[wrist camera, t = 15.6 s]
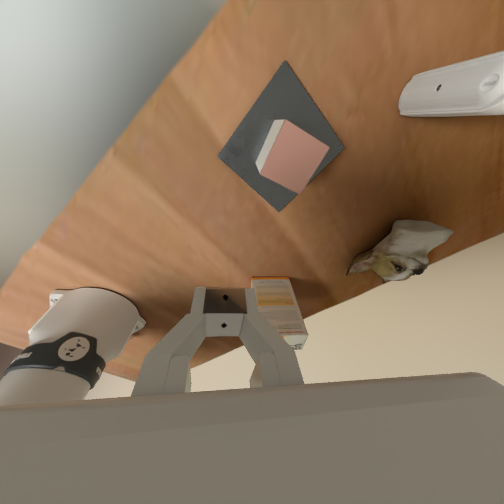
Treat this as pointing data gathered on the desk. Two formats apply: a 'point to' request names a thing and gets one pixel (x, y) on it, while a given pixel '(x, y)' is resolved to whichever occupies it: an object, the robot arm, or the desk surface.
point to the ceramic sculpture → (402, 250)
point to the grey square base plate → (259, 124)
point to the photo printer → (457, 89)
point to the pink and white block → (290, 155)
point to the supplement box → (280, 308)
